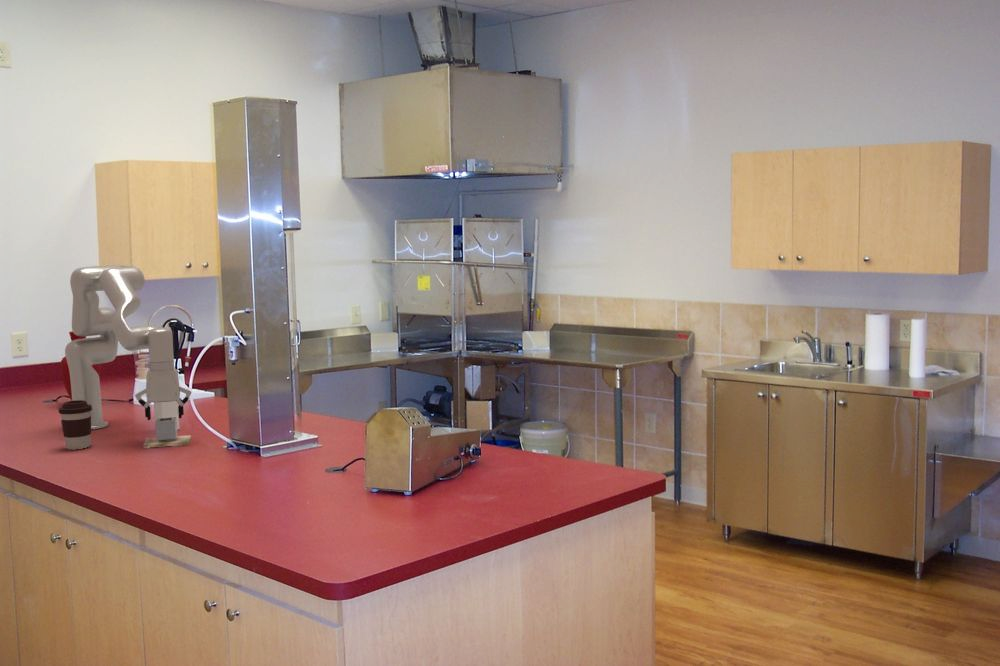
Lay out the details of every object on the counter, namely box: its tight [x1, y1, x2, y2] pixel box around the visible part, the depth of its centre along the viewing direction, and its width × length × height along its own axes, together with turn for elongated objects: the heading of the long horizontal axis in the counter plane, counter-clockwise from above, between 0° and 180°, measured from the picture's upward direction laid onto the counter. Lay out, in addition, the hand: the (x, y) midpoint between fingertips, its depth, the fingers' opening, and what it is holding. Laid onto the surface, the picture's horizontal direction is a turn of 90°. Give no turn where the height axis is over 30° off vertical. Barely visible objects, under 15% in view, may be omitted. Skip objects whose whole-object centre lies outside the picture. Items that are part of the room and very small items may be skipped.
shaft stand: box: [143, 419, 192, 449], centre depth 335 cm, size 14×10×8 cm
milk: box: [153, 401, 180, 431], centre depth 357 cm, size 6×6×22 cm
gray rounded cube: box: [154, 417, 178, 440], centre depth 335 cm, size 6×6×6 cm
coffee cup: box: [58, 400, 92, 451], centre depth 333 cm, size 10×10×15 cm
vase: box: [60, 330, 102, 401], centre depth 410 cm, size 15×15×30 cm
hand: (164, 418), depth 335 cm, fingers open, 9 cm apart
